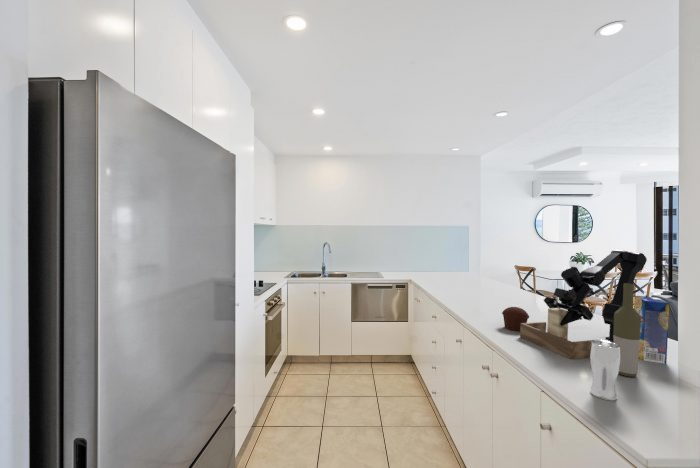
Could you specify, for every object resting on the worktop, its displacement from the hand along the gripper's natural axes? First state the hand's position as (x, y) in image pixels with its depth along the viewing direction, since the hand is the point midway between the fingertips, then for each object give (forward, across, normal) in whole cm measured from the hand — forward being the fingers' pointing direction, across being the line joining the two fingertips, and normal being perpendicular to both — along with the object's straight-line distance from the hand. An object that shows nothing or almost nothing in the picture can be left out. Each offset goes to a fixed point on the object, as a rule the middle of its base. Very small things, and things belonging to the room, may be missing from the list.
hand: (555, 323), depth 136 cm
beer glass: (+21, +36, -8) cm, 42 cm away
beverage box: (-12, +17, +26) cm, 33 cm away
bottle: (+6, +26, +8) cm, 28 cm away
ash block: (+4, 0, +6) cm, 7 cm away
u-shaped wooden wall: (+6, 0, +8) cm, 9 cm away
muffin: (+6, -23, +8) cm, 25 cm away
